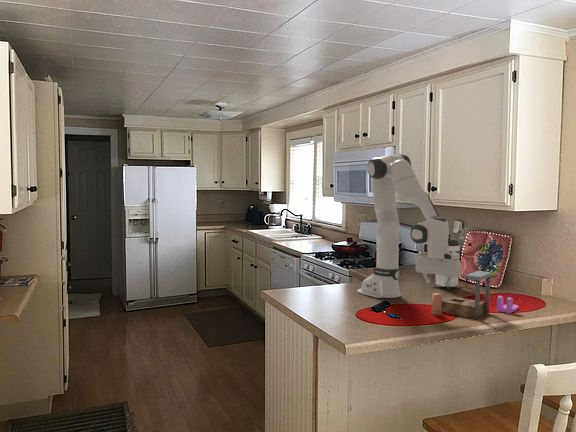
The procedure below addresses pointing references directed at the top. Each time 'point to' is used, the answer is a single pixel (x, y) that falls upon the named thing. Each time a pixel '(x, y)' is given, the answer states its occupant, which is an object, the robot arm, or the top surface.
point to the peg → (436, 303)
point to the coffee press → (442, 279)
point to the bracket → (508, 307)
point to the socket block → (461, 306)
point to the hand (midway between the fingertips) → (437, 284)
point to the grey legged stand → (479, 276)
